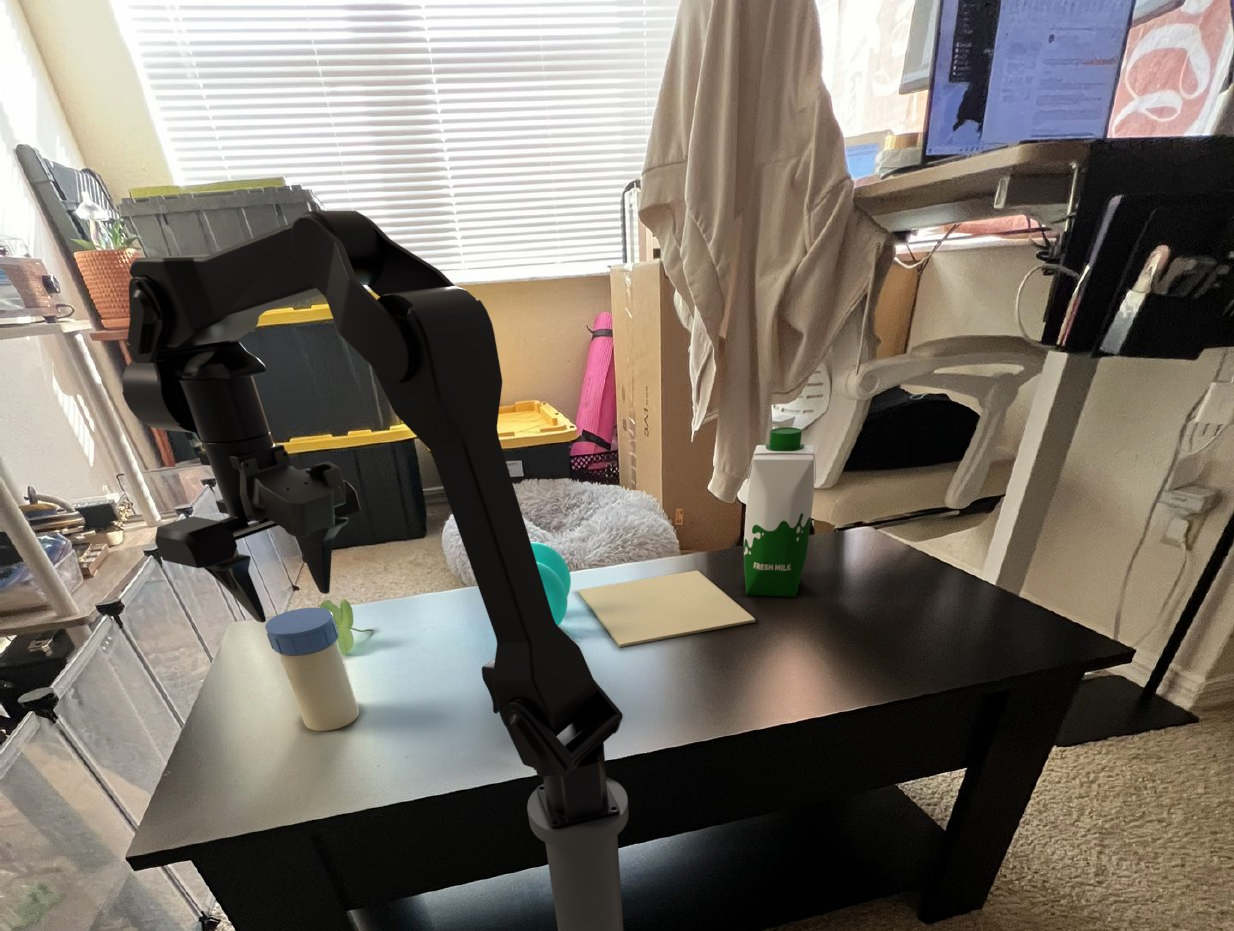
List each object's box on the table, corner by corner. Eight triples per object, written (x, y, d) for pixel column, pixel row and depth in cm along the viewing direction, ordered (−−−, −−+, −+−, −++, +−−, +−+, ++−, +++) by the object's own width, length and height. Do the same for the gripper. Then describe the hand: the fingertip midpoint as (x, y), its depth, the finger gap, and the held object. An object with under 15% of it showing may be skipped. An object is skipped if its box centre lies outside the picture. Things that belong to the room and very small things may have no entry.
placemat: (755, 622, 96) (755, 619, 96) (619, 647, 92) (619, 644, 92) (697, 572, 111) (697, 570, 111) (578, 592, 107) (578, 590, 107)
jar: (360, 724, 80) (330, 631, 73) (303, 735, 79) (268, 641, 72) (358, 699, 84) (330, 609, 77) (305, 709, 83) (271, 618, 76)
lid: (339, 648, 74) (332, 627, 72) (271, 660, 73) (263, 638, 71) (338, 623, 79) (332, 603, 77) (274, 634, 78) (267, 613, 76)
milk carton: (803, 576, 107) (820, 426, 95) (802, 600, 101) (820, 441, 88) (743, 575, 109) (753, 427, 97) (738, 598, 102) (748, 442, 90)
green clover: (369, 673, 100) (330, 667, 95) (346, 625, 102) (307, 617, 96) (401, 643, 97) (363, 635, 91) (378, 594, 99) (339, 583, 93)
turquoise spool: (574, 609, 102) (567, 537, 96) (570, 639, 94) (562, 563, 88) (504, 612, 102) (493, 540, 96) (494, 643, 95) (481, 567, 88)
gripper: (197, 468, 54) (270, 660, 64) (378, 420, 66) (416, 587, 76) (114, 457, 59) (193, 637, 69) (297, 414, 71) (343, 572, 81)
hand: (294, 606), depth 73 cm, fingers open, 8 cm apart
